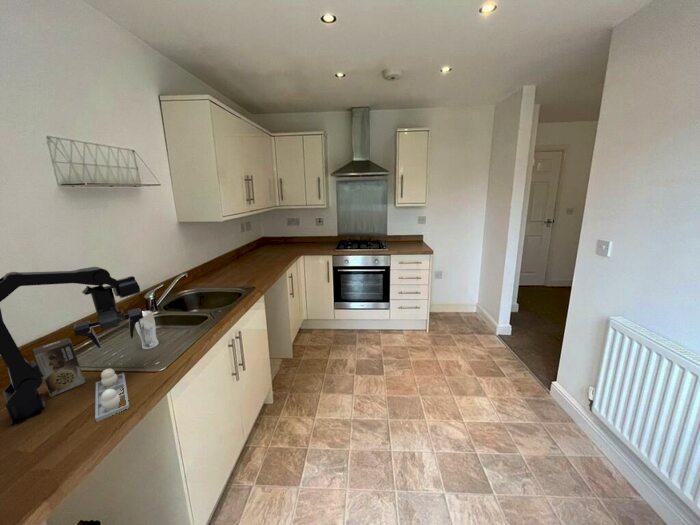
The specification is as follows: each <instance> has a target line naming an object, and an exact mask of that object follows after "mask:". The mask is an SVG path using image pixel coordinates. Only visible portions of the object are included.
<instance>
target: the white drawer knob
mask: <svg viewBox="0 0 700 525" xmlns="http://www.w3.org/2000/svg"><path fill="white" fill-rule="evenodd" d="M101 399H102V402H101V405H102V407H103V408H105V409H106V411H107V412H110V411H112V410H115V409H117V408H118V407H119V402H120V396H119V395H118V394H117V392H116V390H114V389H107V390H105V391H104V392H103V393H102V395H101Z"/></svg>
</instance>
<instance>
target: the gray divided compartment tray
mask: <svg viewBox="0 0 700 525" xmlns="http://www.w3.org/2000/svg"><path fill="white" fill-rule="evenodd" d="M116 375H117V376H118V380H117V385H116V386H113V387H111V388H108V389H114V390H116V392H117V394H118V395H119V394H120V393H122V392H123V390H122V387H123V388H124V394H121V395H119V396H120V399H122V398H124V397H125V400H126V405H125V406H122V407H120V408H117V409H115V410H112V411H110V412H107V411H106V409H105V408H103V407H102V405H101V402H102V399H101V395H102V393H103V392H104V391H105V390H107V389H106V388H105V386H103V385H102V383H101V380H99V381H96V382H95V403H94V404H95V408H94V409H95V410H94V412H95V414H94V419H95V422H96V423H98V422H101V421H103V420H105V419H108V418H110V417H112V415H113V416H115V415H117V414H119V412H120V413H122V412H124V411H123V410H125V409H127V410H129V409H130V408H129V407H130V400H129V395H128V388H127V382H126V375H125V372H122V373H119V374H116ZM120 389H121V390H122V391H121V390H120ZM128 400H129V401H128ZM128 408H129V409H128ZM121 411H122V412H121ZM125 411H126V410H125ZM116 413H117V414H116Z"/></svg>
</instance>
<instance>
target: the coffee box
mask: <svg viewBox="0 0 700 525" xmlns="http://www.w3.org/2000/svg"><path fill="white" fill-rule="evenodd" d="M73 345H74V344H73V342H72V341H71V339H70V338H69V337H66V338H63V339H59V340H57V341H54V342H51V343H47V344H44V345H40V346H38V347H35V348H33V349H32V351H33V355H34V358H35V359H36V360H35V361H36V363H37V364H38V367H39V369H40V370H41V372H42V373H43V375H44V377H42V378H43V379H42V380H43V381H44V384H45V386H46V389H47V391H48V394H49V397H50V398H52V397H55V396H56V395H59V394H62V393H64V392H67V391H69V390H71V389H73V388H76V387H78V386H81V385H83V384H85V383H86V380H85V378H84V374H83V372H82V369H81V368H82V367H81V366H80V363H79V360H78V358H77V355H76V351H75V348H74V346H73Z"/></svg>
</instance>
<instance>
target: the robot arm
mask: <svg viewBox="0 0 700 525" xmlns="http://www.w3.org/2000/svg"><path fill="white" fill-rule="evenodd" d="M62 284H63V285H67V284H80V285H86V287H85V288H84V290H82V291H81V293H82V294H83V295H86V296H88V295H90V296H91V298H92V304H93V306H94V309H95V312H96V319H97V321H93V322H90V320H85V321H79V322H76V323H75V324H74V326H73V333H74V336H75V337H79V336H80V337H83V338H84V337H86V338H89V339H90V340H91V341H92V342H93V343H94V344H95V345H96V347H97V348H99V349H101V346H102V345H101V344H100V341H99V338H98V336H97V334H96V332H95V330H94V329H95V328H98V327H100V329H101V330H102V331H107V330H110V329H112V328H118V327H120V325H121V324H120V323H121V322H124V321H126V320H128V327H129V335H130V338H131V340H132V339H133V337H134V331H135V328H136V327H135V324H136V322H139V319H142V318H143V315H142V311H143V310H142V309H141V308H139V307H138V308H132V309H129V310H127V313H124V310H123V309H122V310H119V309H118V306H117V305H118V304H117V302H116V297H119V298H120V299H123V298H127V297H130V296H134V295H137V294H140V292H141V287H140V285H139V284H138V281H137V280H136V278H135V276H133V275H131V276H127V277H124V278H121V279H116V278H113V277H112V276H111V273H110V272H109V271H108V270H107V269H105V268H102V267H99V266H90V267H84V268H79V269H73V270H64V271H63V270H61V271H60V270H59V271H58V270H57V271H29V272H28V271H27V272H26V271H24V272H19V271H18V272H17V271H9V272H8V273H7V272H6V274H5V275H4V276H2V277H1V278H0V303H2V301H3V300H5V299H6V298H8V297H9V296H10V295H11V294H12V293H13V292H14V291H16V290H17V289H18V288H20V287H25V286H26V287H27V286H29V287H30V286H44V285H45V286H46V285H47V286H48V285H62ZM104 285H106V286H104ZM91 286H92V287H91ZM3 318H4V317H3V313H2V310H1V308H0V357H1V358H2V361H3V362H4V363H5V365H6V367H7V372H8V376H9V379H10V383H9V384H8V385H7V387H6V388H5V389H4V390H3V391H2V393H3V395H4V397H5V401H6V402H5V407H6V410H7V413H8V415H9V418H10V420H11V421H10V424H9V425H10V426H14V425H15V424H18V423H21V422H24V421H27V420H28V419H31V418H34V417H37V416H40V415H41V414H43V412H44V409H45V407H46V401H45V398H44V397H43V393H39V391H38V389H39V388H40V387H41V385H42V384H43V379H42V378H43V377H44V375H43V373H42V372H41V370H40V368H39V366H38V363H37V361H36V360H35V359H33V360H31V361H28V360H27V359H26V358H25V357H24V356H23V354H22V352H21V350H20V349H19V346H18V345H17V343H16V341H15V340H14V338H13V336H12V335H11V333H10V331H9V329H8V327H7V326H6V323H4V319H3Z"/></svg>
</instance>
